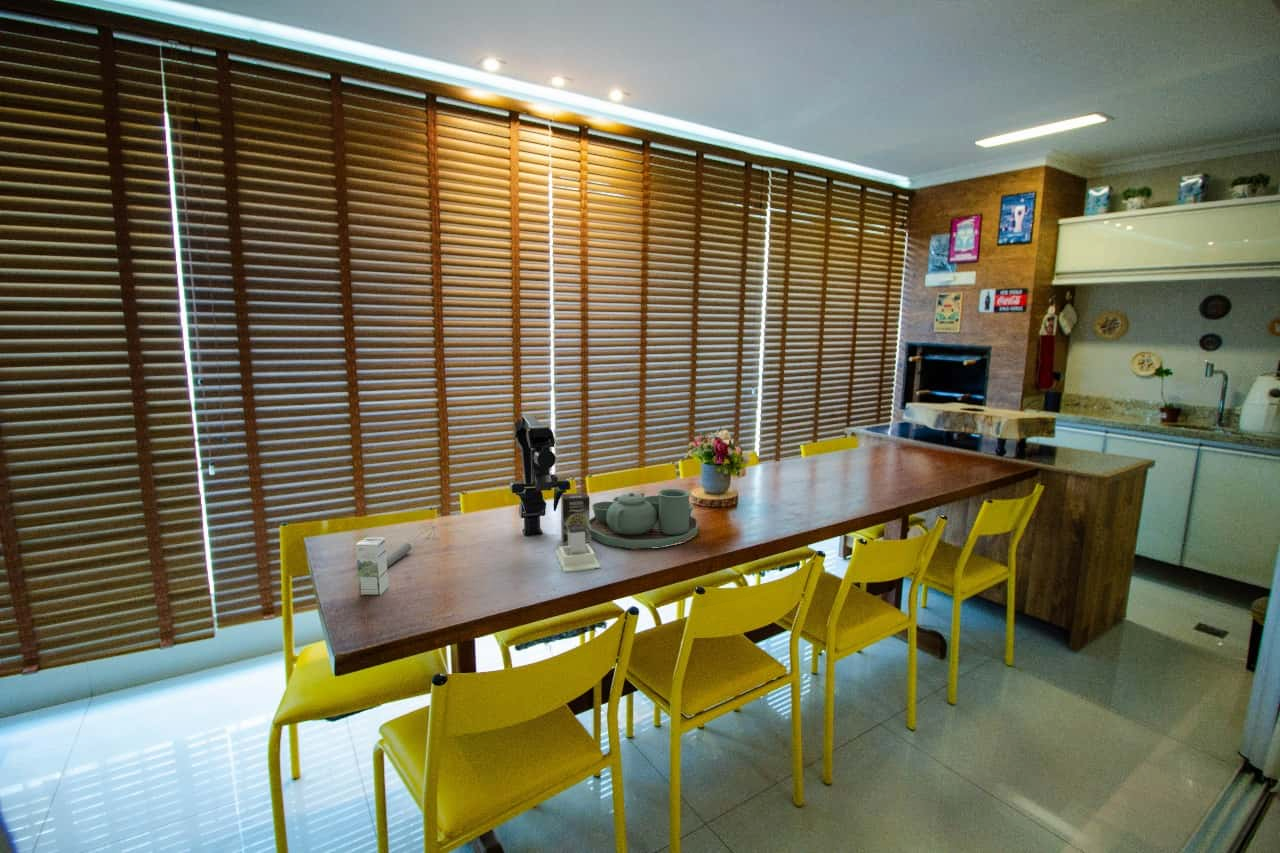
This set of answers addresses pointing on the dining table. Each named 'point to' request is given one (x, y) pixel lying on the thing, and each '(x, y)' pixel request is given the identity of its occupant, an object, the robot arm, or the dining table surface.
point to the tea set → (644, 520)
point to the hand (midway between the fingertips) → (540, 512)
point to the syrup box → (372, 566)
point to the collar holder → (577, 559)
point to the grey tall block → (576, 539)
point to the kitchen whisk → (405, 548)
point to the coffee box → (574, 514)
